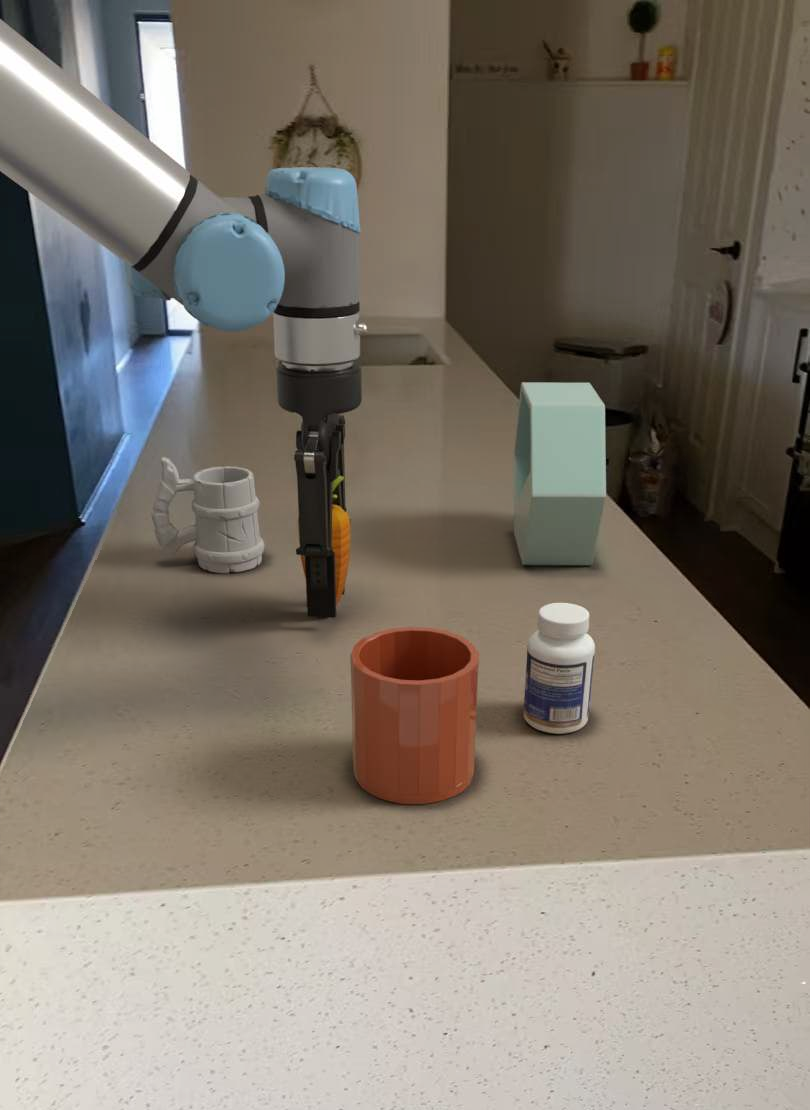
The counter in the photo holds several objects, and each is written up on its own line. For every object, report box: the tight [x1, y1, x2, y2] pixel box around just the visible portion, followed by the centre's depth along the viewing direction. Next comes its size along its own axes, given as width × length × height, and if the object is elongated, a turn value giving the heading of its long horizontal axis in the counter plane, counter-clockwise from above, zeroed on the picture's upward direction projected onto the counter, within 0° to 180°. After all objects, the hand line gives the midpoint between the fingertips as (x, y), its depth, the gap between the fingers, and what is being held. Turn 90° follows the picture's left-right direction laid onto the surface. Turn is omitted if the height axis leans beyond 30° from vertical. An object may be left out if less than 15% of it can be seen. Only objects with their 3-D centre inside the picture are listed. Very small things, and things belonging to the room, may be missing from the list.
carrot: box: [297, 476, 351, 619], centre depth 104 cm, size 5×5×15 cm
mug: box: [150, 456, 266, 574], centre depth 118 cm, size 8×12×12 cm, turn 101°
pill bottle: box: [523, 602, 596, 735], centre depth 88 cm, size 5×5×10 cm
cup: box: [350, 626, 480, 805], centre depth 81 cm, size 9×9×10 cm
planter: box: [513, 381, 607, 566], centre depth 121 cm, size 17×8×21 cm
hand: (326, 603), depth 107 cm, fingers closed on carrot, 5 cm apart
